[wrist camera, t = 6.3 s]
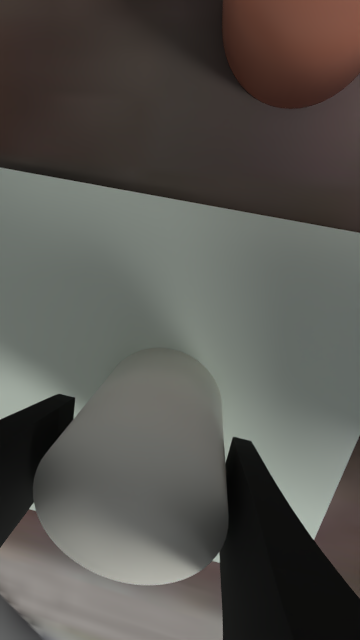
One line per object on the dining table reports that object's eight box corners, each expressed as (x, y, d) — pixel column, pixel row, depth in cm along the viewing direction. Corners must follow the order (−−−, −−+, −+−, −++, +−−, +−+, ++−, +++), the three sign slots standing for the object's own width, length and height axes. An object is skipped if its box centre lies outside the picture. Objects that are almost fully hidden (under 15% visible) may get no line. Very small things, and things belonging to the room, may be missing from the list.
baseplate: (423, 247, 10) (441, 247, 9) (290, 565, 14) (294, 583, 13) (3, 171, 11) (-13, 165, 10) (1, 485, 15) (-10, 497, 14)
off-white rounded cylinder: (243, 381, 11) (268, 486, 6) (189, 469, 12) (175, 611, 7) (131, 327, 11) (68, 389, 6) (90, 421, 12) (11, 533, 7)
